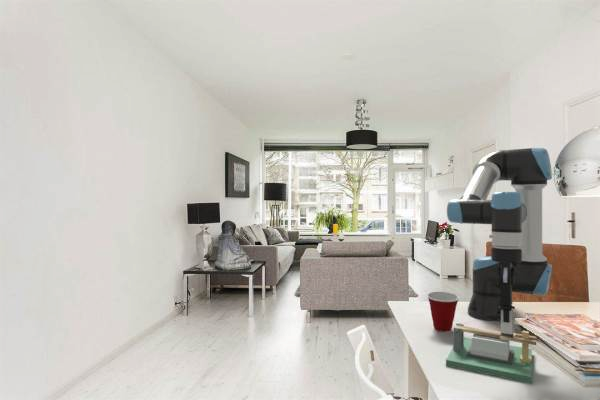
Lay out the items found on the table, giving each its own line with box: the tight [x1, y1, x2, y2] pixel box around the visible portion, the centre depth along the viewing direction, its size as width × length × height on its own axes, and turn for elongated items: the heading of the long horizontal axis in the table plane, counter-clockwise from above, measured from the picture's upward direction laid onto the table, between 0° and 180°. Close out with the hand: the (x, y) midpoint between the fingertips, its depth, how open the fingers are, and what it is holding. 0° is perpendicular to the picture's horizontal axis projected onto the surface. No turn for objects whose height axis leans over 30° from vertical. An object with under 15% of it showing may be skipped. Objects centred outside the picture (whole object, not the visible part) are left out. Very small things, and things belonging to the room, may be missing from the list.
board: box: [445, 322, 533, 384], centre depth 112 cm, size 22×20×9 cm
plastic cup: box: [426, 291, 460, 332], centre depth 138 cm, size 11×11×12 cm
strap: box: [454, 324, 537, 346], centre depth 111 cm, size 5×20×1 cm, turn 59°
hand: (506, 333), depth 109 cm, fingers closed
